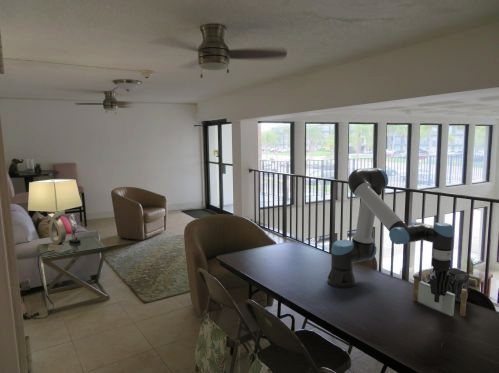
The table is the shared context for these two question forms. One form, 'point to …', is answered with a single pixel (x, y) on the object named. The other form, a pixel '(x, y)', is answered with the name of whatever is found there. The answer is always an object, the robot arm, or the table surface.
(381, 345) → the table surface
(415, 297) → the hinge post
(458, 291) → the camera
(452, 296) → the gate
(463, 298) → the post
